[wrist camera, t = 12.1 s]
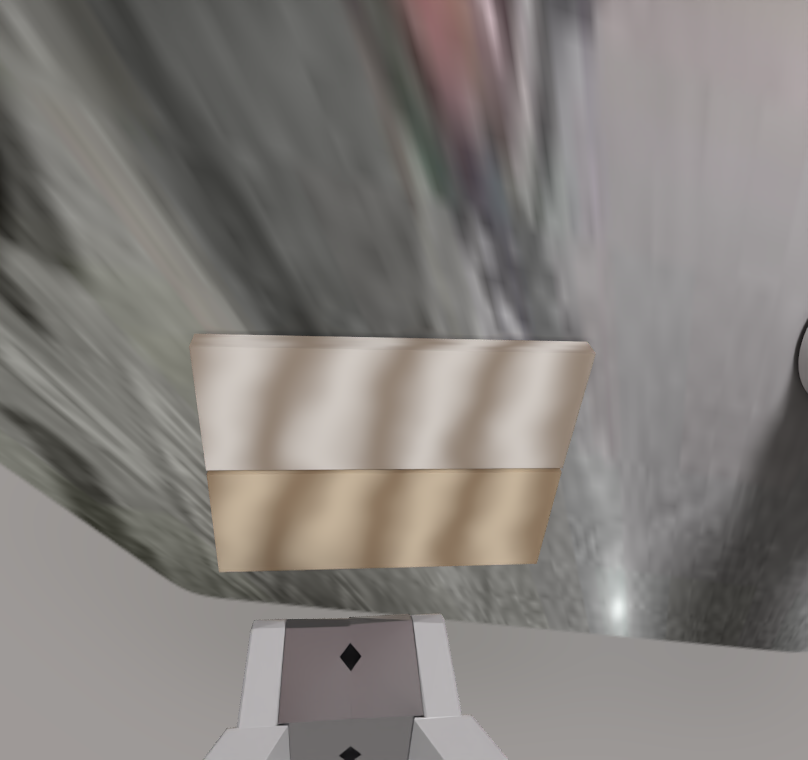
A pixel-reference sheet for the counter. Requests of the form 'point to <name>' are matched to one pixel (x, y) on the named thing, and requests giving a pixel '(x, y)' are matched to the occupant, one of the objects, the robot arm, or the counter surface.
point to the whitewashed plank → (386, 402)
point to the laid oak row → (379, 517)
